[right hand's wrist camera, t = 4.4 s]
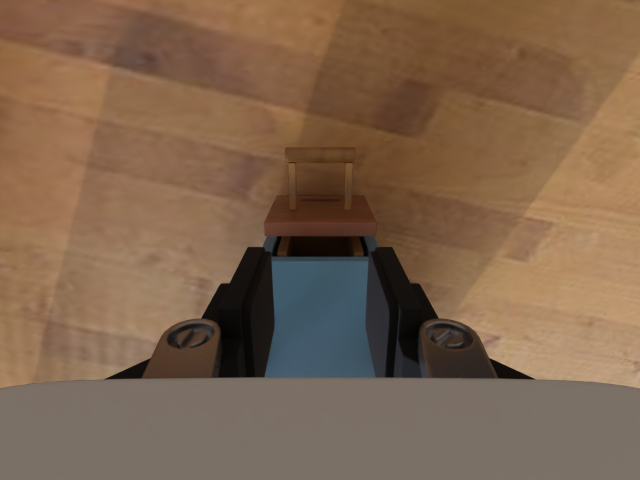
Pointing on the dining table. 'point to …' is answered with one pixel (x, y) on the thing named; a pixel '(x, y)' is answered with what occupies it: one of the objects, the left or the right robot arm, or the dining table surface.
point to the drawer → (320, 213)
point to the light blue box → (319, 315)
